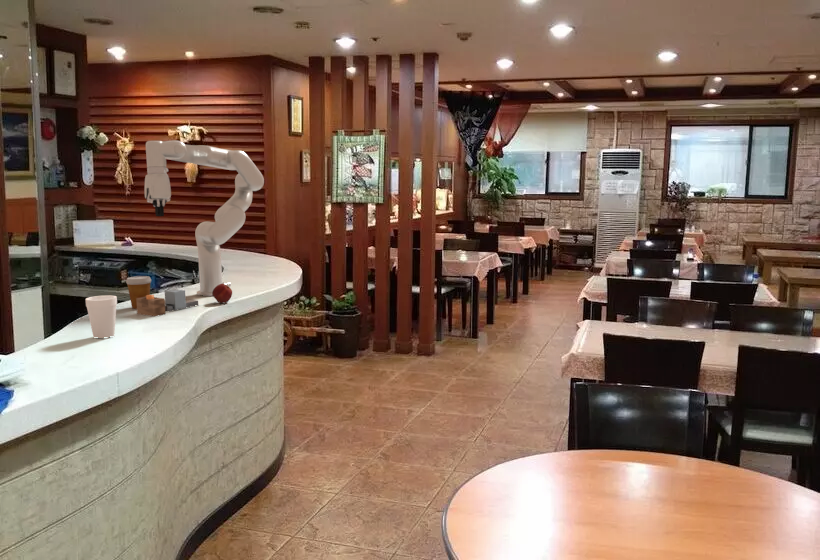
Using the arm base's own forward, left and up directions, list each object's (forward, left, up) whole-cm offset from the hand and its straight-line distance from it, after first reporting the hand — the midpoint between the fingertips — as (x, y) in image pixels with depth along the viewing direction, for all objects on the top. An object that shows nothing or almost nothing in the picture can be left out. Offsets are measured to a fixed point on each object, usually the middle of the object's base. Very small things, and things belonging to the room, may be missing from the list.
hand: (159, 216), depth 306 cm
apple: (-7, +27, -35) cm, 45 cm away
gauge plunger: (+23, +21, -31) cm, 44 cm away
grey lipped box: (+12, +21, -35) cm, 42 cm away
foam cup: (+56, +40, -35) cm, 77 cm away
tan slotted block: (+23, +21, -35) cm, 47 cm away
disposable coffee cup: (+17, +6, -35) cm, 39 cm away
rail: (+9, +21, -35) cm, 42 cm away
